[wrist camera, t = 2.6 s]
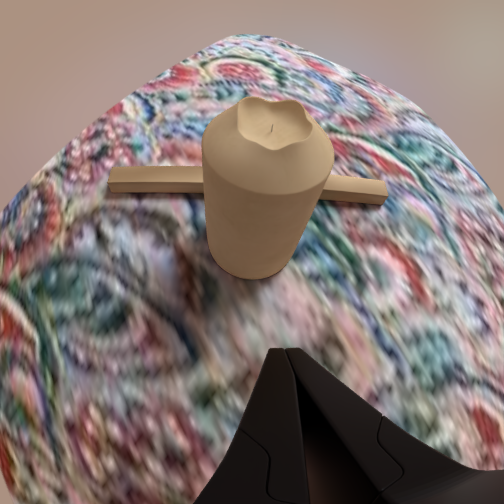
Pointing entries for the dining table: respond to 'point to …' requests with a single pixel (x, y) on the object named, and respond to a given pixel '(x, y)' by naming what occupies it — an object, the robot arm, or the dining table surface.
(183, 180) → the oak strip
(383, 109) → the dining table surface
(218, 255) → the candle
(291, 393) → the robot arm
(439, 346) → the dining table surface
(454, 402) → the dining table surface
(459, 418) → the dining table surface
